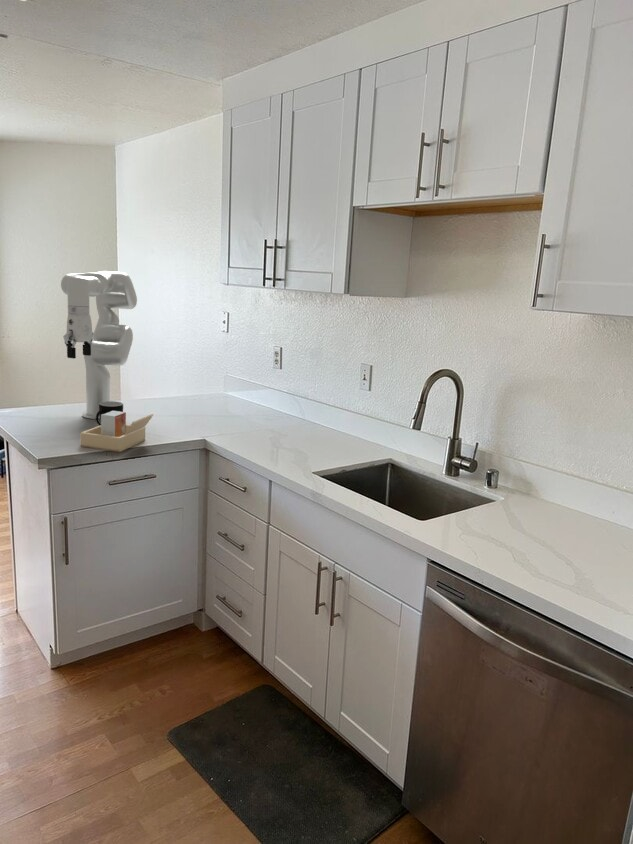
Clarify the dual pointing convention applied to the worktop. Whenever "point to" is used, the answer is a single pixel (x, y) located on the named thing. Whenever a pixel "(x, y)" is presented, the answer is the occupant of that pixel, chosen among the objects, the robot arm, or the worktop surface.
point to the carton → (110, 439)
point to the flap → (138, 424)
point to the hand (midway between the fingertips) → (79, 356)
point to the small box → (113, 423)
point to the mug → (108, 408)
